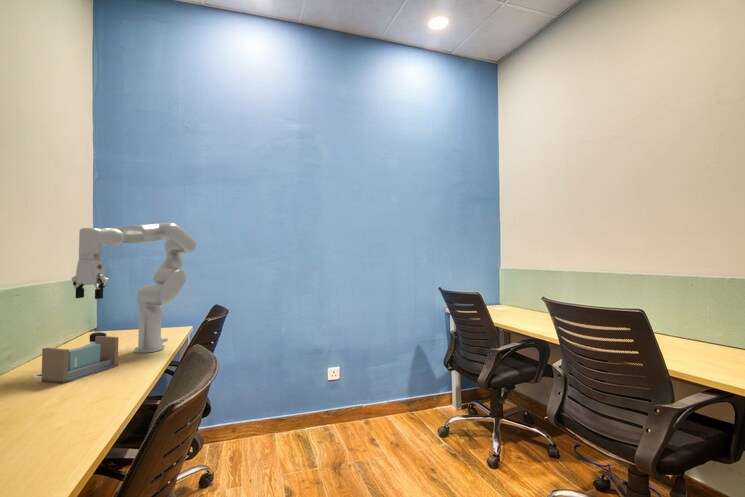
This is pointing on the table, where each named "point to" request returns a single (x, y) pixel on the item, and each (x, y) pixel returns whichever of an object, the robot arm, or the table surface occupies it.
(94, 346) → the door panel
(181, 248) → the robot arm
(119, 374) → the table surface
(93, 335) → the medicine bottle
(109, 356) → the door frame
